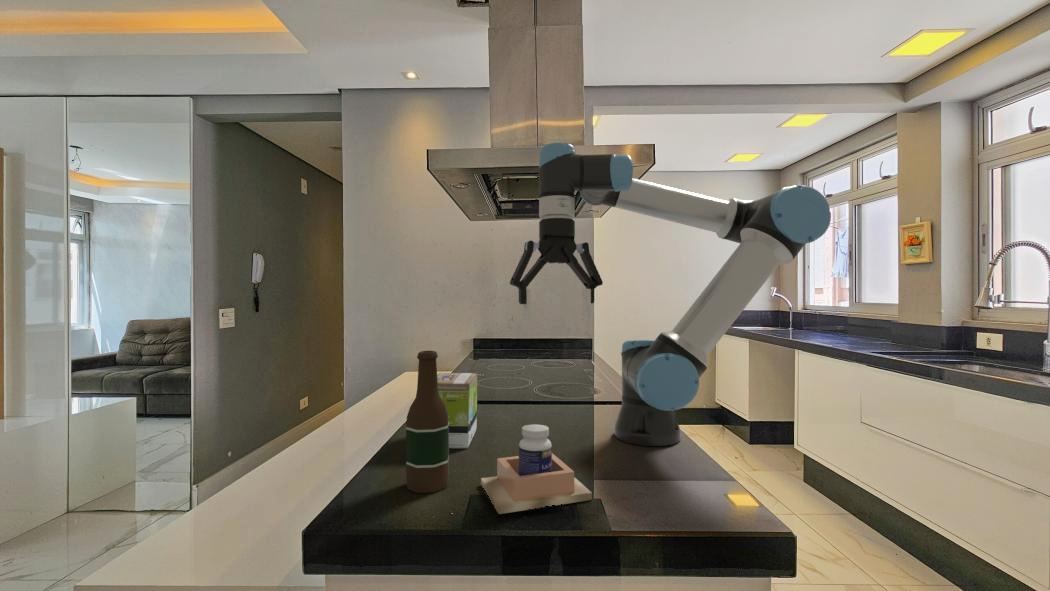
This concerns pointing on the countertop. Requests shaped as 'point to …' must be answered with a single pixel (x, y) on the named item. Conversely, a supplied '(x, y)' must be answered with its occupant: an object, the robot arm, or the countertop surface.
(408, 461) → the beer bottle
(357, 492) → the countertop surface
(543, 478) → the well
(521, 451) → the pill bottle
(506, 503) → the board
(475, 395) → the tea box
